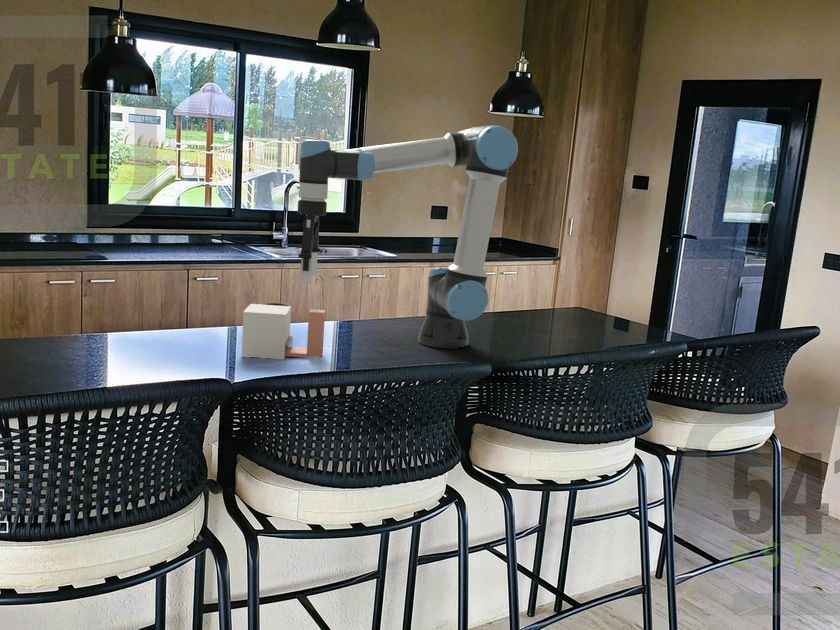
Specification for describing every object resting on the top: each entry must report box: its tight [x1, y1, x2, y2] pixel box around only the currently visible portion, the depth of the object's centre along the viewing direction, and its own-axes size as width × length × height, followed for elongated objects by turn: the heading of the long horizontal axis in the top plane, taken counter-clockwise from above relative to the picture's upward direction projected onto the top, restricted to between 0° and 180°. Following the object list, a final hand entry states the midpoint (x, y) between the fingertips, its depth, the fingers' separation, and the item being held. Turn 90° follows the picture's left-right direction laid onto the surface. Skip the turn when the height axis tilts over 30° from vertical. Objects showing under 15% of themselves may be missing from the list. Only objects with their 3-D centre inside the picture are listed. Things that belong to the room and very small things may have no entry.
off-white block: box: [241, 303, 294, 361], centre depth 225 cm, size 12×12×12 cm
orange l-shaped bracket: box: [285, 308, 326, 358], centre depth 225 cm, size 18×7×12 cm, turn 92°
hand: (308, 279), depth 226 cm, fingers open, 13 cm apart
